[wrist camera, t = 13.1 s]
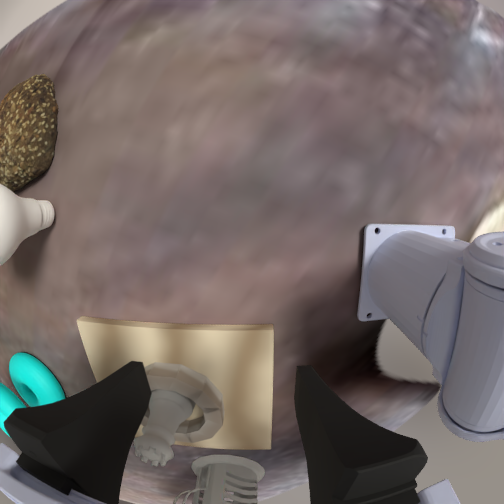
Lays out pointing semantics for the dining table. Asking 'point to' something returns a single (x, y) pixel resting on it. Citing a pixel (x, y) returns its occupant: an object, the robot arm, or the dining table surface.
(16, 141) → the bread roll
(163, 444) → the rook chess piece
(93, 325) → the ring board
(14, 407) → the donuts
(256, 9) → the dining table surface
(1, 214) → the lightbulb
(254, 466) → the french press
